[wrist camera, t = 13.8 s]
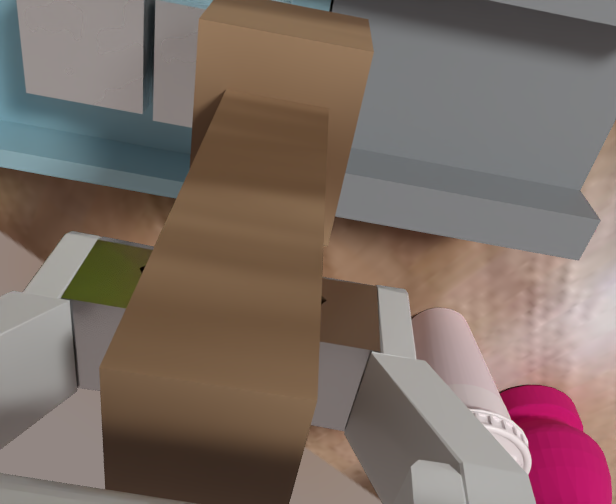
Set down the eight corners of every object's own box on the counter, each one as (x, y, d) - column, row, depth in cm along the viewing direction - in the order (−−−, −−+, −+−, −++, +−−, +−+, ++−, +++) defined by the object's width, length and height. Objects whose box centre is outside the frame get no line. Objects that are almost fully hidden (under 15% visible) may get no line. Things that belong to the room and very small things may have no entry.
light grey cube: (65, -52, 21) (12, -35, 18) (175, -30, 21) (143, -9, 18) (71, 59, 23) (26, 92, 20) (171, 77, 23) (142, 114, 20)
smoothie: (418, 274, 33) (455, 498, 22) (513, 313, 34) (596, 545, 23) (366, 347, 37) (374, 575, 25) (454, 381, 38) (500, 612, 26)
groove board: (355, -127, 23) (358, -122, 17) (651, -65, 23) (742, -41, 18) (303, 152, 29) (293, 219, 24) (533, 195, 30) (573, 270, 25)
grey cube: (185, -23, 21) (155, -1, 18) (293, -2, 21) (283, 24, 18) (180, 83, 24) (152, 120, 20) (277, 101, 24) (266, 141, 20)
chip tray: (-10, -205, 22) (-126, -224, 16) (353, -128, 23) (355, -123, 17) (23, 100, 29) (-52, 157, 23) (301, 152, 29) (291, 219, 24)
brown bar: (221, -10, 15) (15, 249, 6) (368, 19, 16) (417, 315, 6) (206, 172, 19) (58, 541, 9) (329, 194, 19) (318, 575, 9)
